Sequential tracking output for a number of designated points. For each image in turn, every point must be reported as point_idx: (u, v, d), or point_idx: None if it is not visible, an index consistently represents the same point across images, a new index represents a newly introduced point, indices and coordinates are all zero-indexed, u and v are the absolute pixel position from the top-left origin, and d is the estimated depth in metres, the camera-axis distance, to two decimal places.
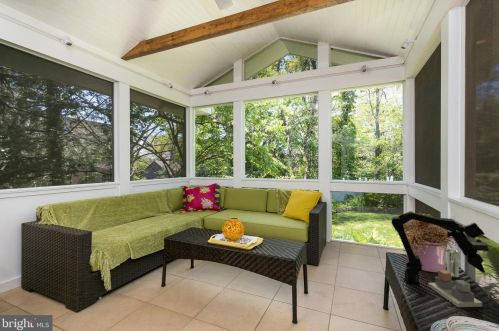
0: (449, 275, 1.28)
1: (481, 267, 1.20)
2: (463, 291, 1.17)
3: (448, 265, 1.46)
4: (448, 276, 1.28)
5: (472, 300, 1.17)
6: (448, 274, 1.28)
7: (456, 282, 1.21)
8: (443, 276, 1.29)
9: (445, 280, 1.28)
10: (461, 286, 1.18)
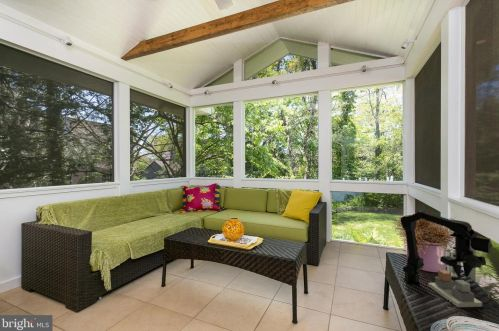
0: (449, 275, 1.28)
1: (457, 271, 1.19)
2: (463, 291, 1.17)
3: None
4: (448, 276, 1.28)
5: (472, 300, 1.17)
6: (448, 274, 1.28)
7: (456, 282, 1.21)
8: (443, 276, 1.29)
9: (445, 280, 1.28)
10: (461, 286, 1.18)
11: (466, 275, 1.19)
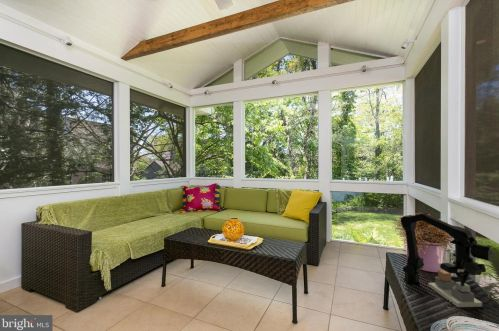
0: (449, 275, 1.28)
1: (460, 278, 1.19)
2: None
3: None
4: (448, 276, 1.28)
5: (472, 300, 1.17)
6: (448, 274, 1.28)
7: (456, 284, 1.21)
8: (443, 276, 1.29)
9: (445, 280, 1.28)
10: (461, 288, 1.18)
11: None
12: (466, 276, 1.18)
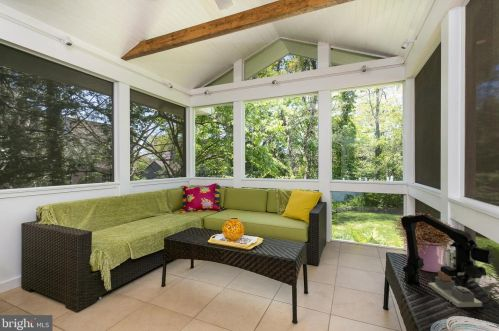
0: None
1: (460, 281, 1.19)
2: None
3: (448, 265, 1.46)
4: (448, 276, 1.28)
5: (472, 300, 1.17)
6: None
7: (456, 288, 1.21)
8: (443, 276, 1.29)
9: (445, 280, 1.28)
10: (461, 292, 1.18)
11: None
12: (466, 279, 1.18)
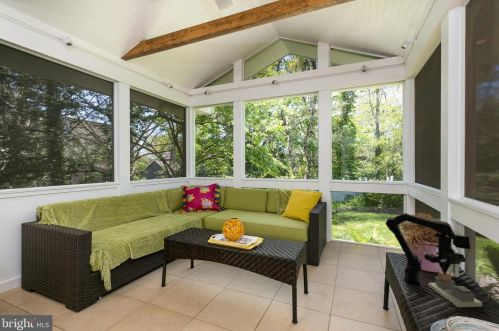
0: (449, 276, 1.28)
1: (442, 267, 1.30)
2: None
3: None
4: (448, 277, 1.28)
5: (472, 300, 1.17)
6: (448, 275, 1.28)
7: (456, 288, 1.21)
8: (443, 277, 1.29)
9: (445, 281, 1.28)
10: (461, 292, 1.18)
11: None
12: (448, 266, 1.29)
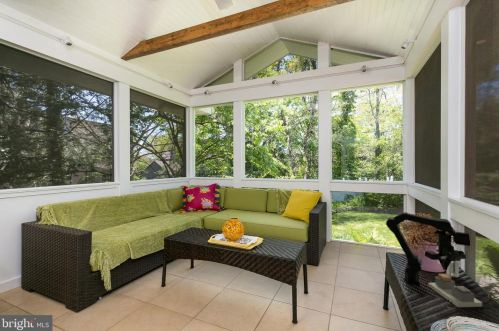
0: (449, 279, 1.28)
1: (443, 264, 1.30)
2: None
3: None
4: (448, 280, 1.28)
5: (472, 300, 1.17)
6: (448, 278, 1.28)
7: (456, 288, 1.21)
8: (443, 280, 1.29)
9: None
10: (461, 292, 1.18)
11: None
12: (448, 263, 1.29)
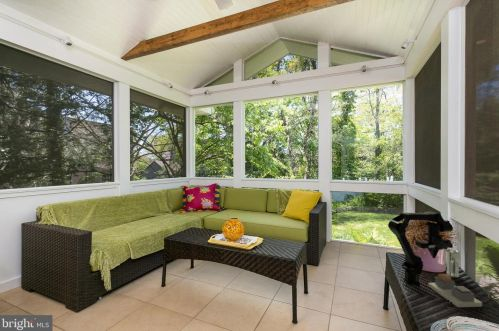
0: (449, 279, 1.28)
1: (432, 253, 1.41)
2: None
3: (448, 265, 1.46)
4: (448, 280, 1.28)
5: (472, 300, 1.17)
6: (448, 278, 1.28)
7: (456, 288, 1.21)
8: (443, 280, 1.29)
9: None
10: (461, 292, 1.18)
11: None
12: (436, 251, 1.40)
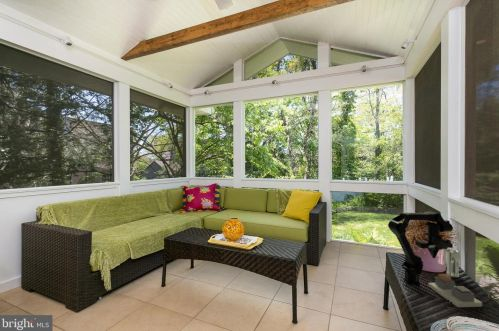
0: (449, 279, 1.28)
1: (432, 253, 1.41)
2: None
3: (448, 265, 1.46)
4: (448, 280, 1.28)
5: (472, 300, 1.17)
6: (448, 278, 1.28)
7: (456, 288, 1.21)
8: (443, 280, 1.29)
9: None
10: (461, 292, 1.18)
11: None
12: (436, 251, 1.40)
